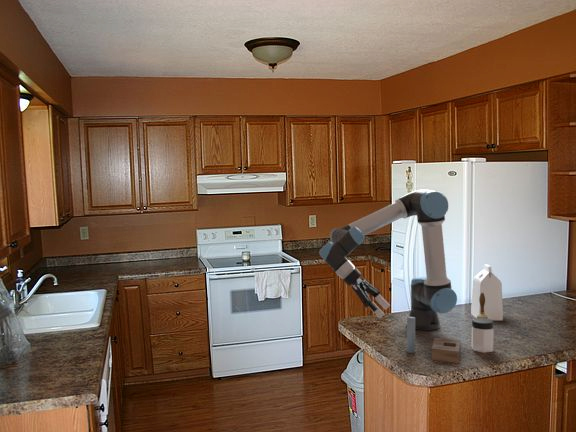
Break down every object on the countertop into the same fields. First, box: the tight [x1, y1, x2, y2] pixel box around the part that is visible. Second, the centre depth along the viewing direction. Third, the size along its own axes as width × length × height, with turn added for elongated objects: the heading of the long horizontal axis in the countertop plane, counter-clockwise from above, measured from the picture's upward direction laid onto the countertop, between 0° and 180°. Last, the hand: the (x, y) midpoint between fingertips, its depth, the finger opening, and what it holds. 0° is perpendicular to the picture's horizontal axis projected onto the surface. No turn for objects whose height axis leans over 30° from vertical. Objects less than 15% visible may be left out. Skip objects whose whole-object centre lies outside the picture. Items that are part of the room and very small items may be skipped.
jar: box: [470, 317, 494, 353], centre depth 213 cm, size 9×8×12 cm
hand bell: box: [477, 293, 488, 319], centre depth 243 cm, size 8×8×16 cm
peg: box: [406, 316, 416, 354], centre depth 211 cm, size 3×3×14 cm
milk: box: [470, 263, 504, 321], centre depth 259 cm, size 12×12×26 cm
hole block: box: [431, 337, 461, 364], centre depth 206 cm, size 14×10×4 cm
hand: (385, 311), depth 214 cm, fingers open, 13 cm apart
